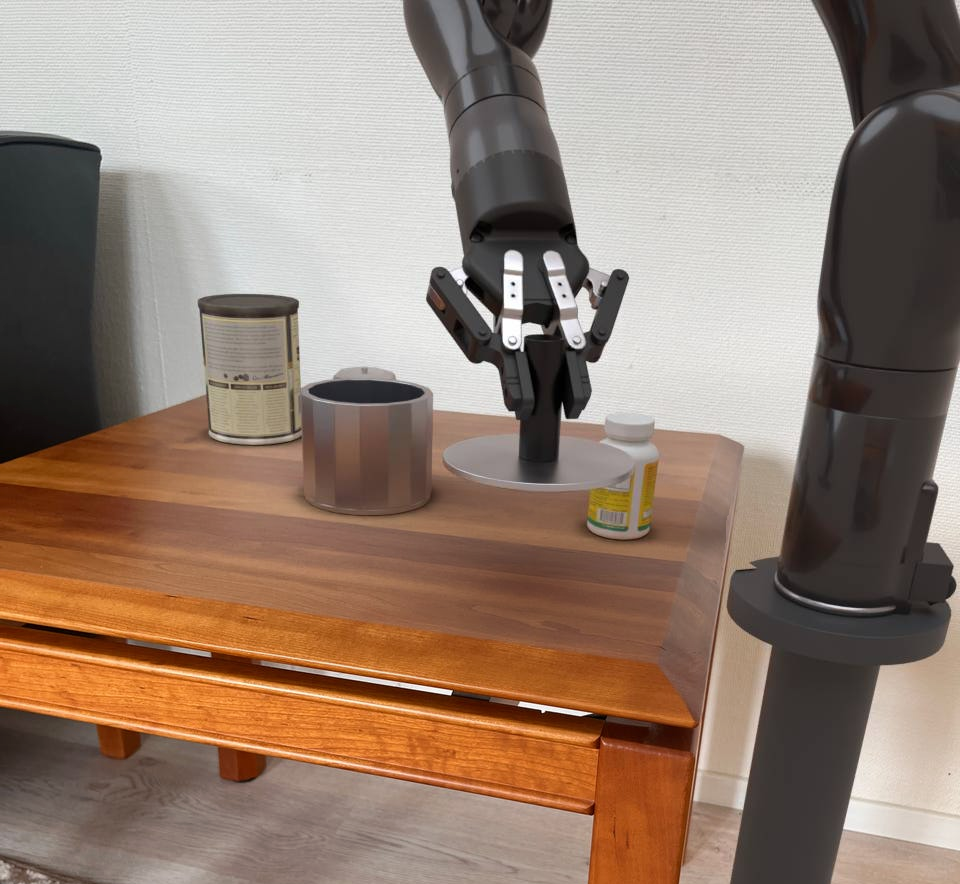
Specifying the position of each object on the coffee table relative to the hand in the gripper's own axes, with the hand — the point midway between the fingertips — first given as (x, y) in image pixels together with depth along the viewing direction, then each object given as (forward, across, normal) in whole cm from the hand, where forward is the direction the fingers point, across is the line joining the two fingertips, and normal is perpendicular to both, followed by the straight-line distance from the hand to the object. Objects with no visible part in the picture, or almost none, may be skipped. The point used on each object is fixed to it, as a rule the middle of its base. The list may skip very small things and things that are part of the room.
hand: (551, 411), depth 63 cm
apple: (-30, -4, +50) cm, 58 cm away
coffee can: (-28, -17, +48) cm, 58 cm away
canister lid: (+1, 0, +4) cm, 4 cm away
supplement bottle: (-2, +12, +22) cm, 26 cm away
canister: (-11, -8, +31) cm, 34 cm away
